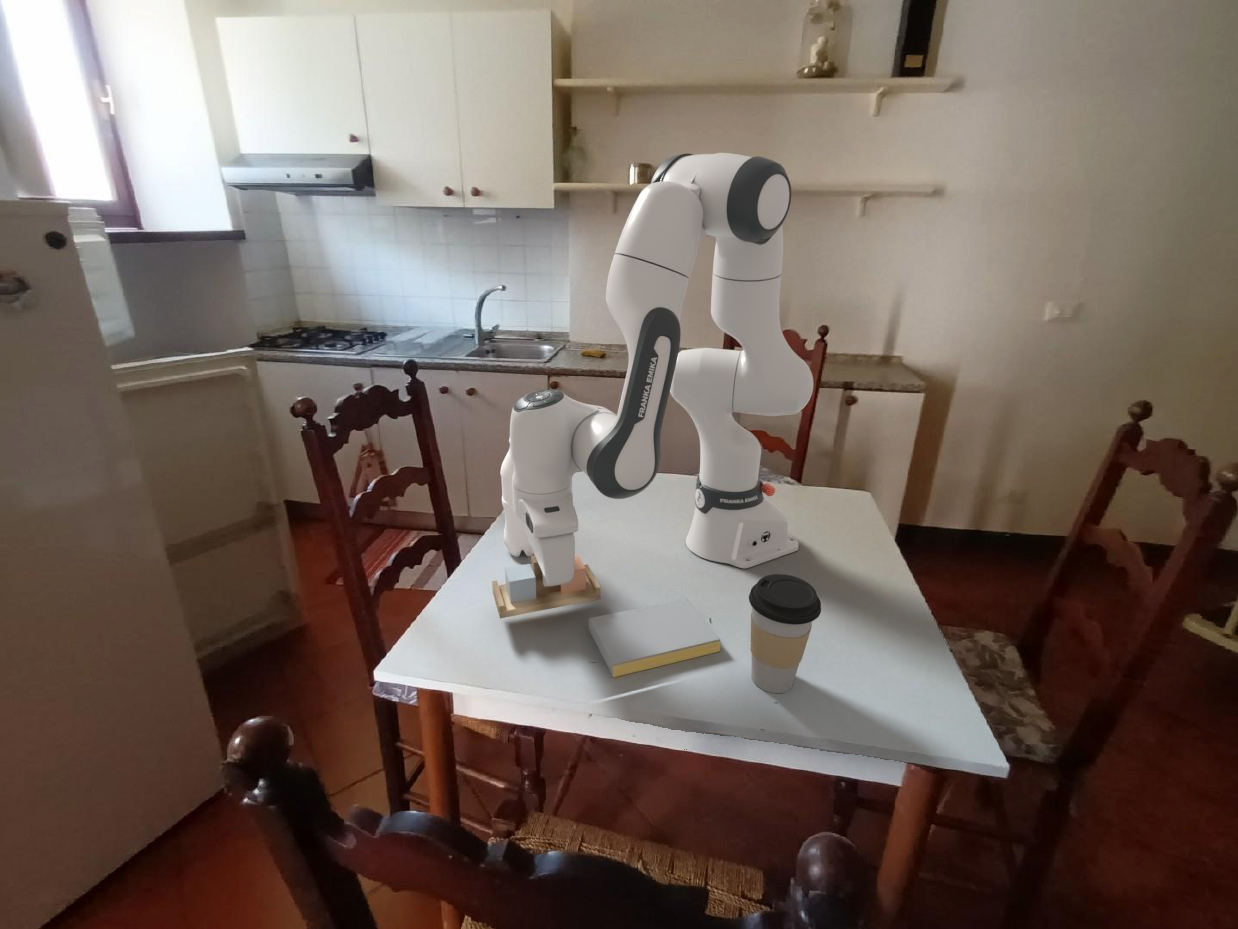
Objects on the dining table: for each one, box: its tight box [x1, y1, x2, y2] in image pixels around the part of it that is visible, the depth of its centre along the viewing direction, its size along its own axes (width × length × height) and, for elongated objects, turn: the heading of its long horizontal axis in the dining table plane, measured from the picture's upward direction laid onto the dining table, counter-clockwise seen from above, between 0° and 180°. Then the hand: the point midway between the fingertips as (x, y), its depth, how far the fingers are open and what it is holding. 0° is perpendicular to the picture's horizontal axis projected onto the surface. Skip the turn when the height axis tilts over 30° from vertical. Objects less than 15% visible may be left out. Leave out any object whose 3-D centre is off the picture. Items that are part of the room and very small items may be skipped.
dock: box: [588, 597, 722, 678], centre depth 92 cm, size 17×11×2 cm, turn 110°
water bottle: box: [499, 436, 534, 558], centre depth 112 cm, size 7×7×25 cm
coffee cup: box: [748, 573, 822, 694], centre depth 83 cm, size 9×9×15 cm
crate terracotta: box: [560, 555, 586, 594], centre depth 97 cm, size 4×4×4 cm
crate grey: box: [504, 563, 536, 604], centre depth 94 cm, size 4×4×4 cm
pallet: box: [491, 555, 602, 619], centre depth 96 cm, size 16×7×7 cm, turn 110°
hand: (545, 577), depth 96 cm, fingers closed on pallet, 2 cm apart
